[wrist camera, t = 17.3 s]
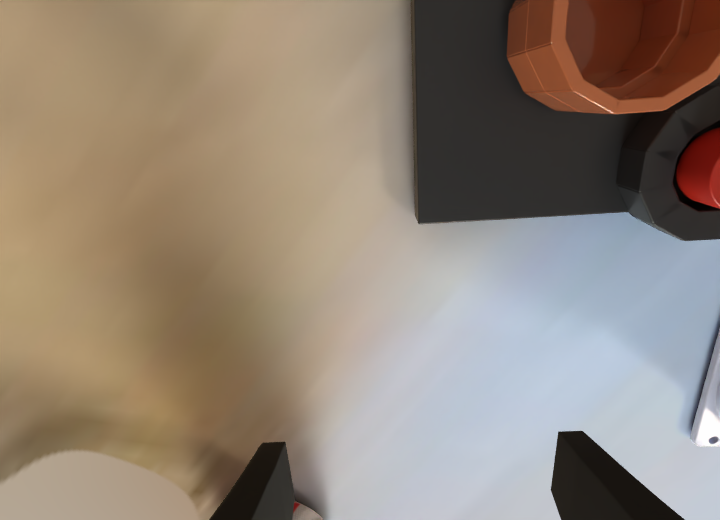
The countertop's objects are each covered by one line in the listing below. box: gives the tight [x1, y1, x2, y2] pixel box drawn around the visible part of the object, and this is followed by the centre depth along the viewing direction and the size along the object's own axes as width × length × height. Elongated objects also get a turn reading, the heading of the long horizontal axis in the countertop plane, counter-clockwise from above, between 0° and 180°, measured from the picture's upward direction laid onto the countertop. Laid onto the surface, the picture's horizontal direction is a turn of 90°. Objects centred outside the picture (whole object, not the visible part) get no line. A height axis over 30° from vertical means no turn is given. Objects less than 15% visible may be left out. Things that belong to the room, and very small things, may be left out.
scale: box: [411, 0, 720, 241], centre depth 16 cm, size 14×13×3 cm
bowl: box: [507, 0, 720, 114], centre depth 13 cm, size 5×5×4 cm
